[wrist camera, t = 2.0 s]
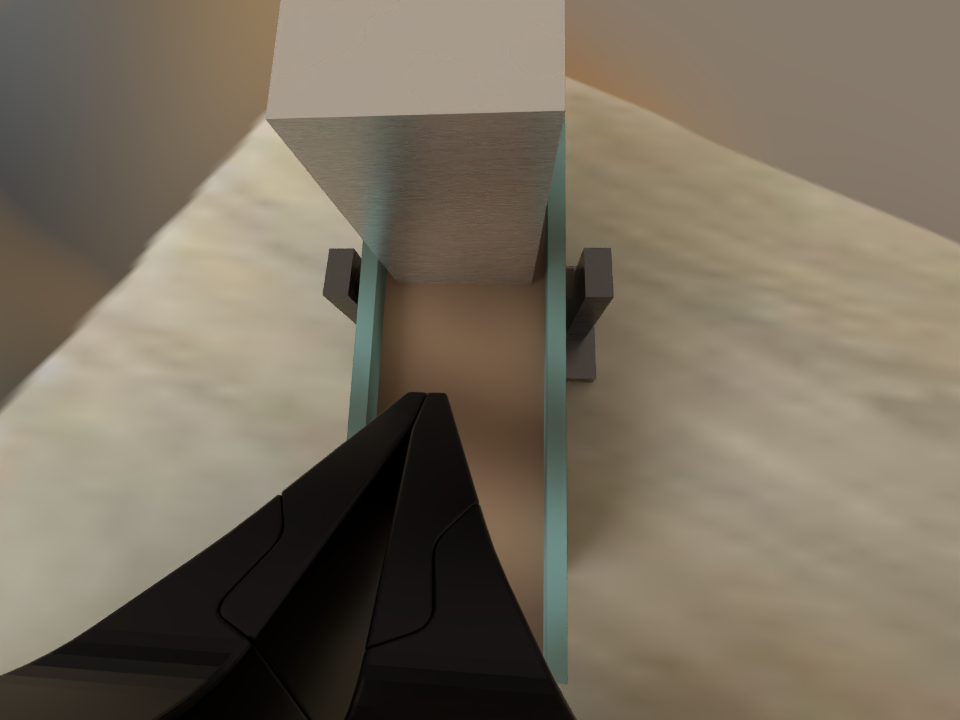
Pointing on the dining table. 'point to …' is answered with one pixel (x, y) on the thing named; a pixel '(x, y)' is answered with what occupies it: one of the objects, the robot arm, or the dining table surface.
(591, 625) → the dining table surface
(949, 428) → the dining table surface
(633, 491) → the dining table surface
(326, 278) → the beam stand
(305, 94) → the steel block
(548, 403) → the balance beam
